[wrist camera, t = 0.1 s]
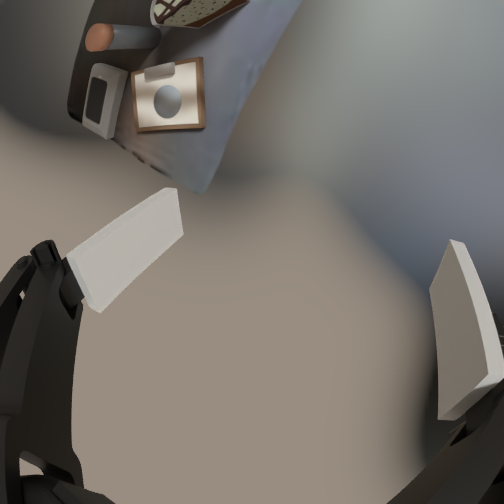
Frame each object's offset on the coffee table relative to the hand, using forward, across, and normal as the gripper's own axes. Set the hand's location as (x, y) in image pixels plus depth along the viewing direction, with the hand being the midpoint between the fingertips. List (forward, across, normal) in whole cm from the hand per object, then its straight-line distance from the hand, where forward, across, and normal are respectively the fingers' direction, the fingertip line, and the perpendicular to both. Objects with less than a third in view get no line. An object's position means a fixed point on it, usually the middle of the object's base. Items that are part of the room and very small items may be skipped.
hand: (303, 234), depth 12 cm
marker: (+28, -32, +18) cm, 46 cm away
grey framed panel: (+29, -46, +8) cm, 55 cm away
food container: (+28, -19, +22) cm, 41 cm away
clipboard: (+28, -29, +6) cm, 41 cm away
